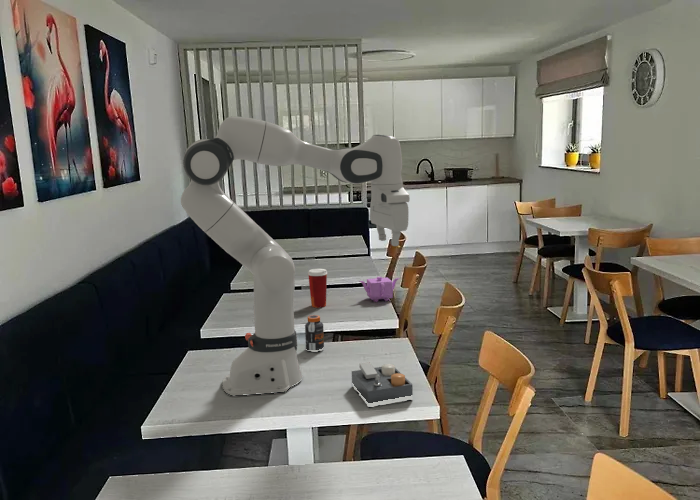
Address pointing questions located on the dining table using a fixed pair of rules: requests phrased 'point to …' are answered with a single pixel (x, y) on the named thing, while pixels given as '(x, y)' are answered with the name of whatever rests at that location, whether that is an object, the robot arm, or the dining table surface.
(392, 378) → the button orange
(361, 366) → the rocker
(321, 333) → the pill bottle
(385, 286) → the teapot
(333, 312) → the dining table surface
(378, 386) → the console
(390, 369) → the button ivory
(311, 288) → the coffee cup
